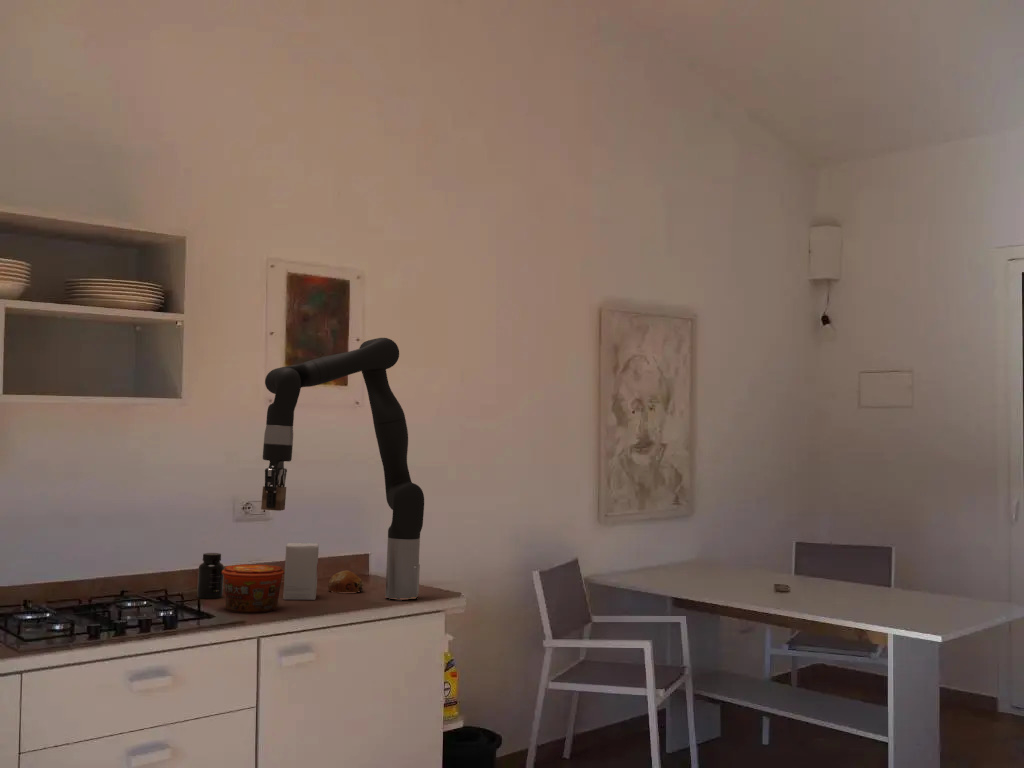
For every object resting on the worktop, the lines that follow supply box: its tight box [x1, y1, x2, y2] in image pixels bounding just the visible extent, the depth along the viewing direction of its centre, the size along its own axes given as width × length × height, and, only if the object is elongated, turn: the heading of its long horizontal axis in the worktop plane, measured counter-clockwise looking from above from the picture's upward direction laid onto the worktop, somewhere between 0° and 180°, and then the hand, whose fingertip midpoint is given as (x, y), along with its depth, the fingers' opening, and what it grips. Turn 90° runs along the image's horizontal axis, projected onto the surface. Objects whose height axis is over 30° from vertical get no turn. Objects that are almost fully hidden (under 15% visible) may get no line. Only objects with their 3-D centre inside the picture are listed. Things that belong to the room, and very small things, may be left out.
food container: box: [222, 563, 285, 614], centre depth 259 cm, size 16×16×11 cm
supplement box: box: [282, 542, 320, 601], centre depth 280 cm, size 9×9×15 cm
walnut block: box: [260, 485, 287, 512], centre depth 262 cm, size 5×5×6 cm
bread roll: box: [327, 569, 365, 592], centre depth 294 cm, size 10×10×8 cm
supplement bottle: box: [196, 552, 225, 600], centre depth 275 cm, size 7×7×12 cm
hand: (273, 507), depth 262 cm, fingers closed on walnut block, 5 cm apart
